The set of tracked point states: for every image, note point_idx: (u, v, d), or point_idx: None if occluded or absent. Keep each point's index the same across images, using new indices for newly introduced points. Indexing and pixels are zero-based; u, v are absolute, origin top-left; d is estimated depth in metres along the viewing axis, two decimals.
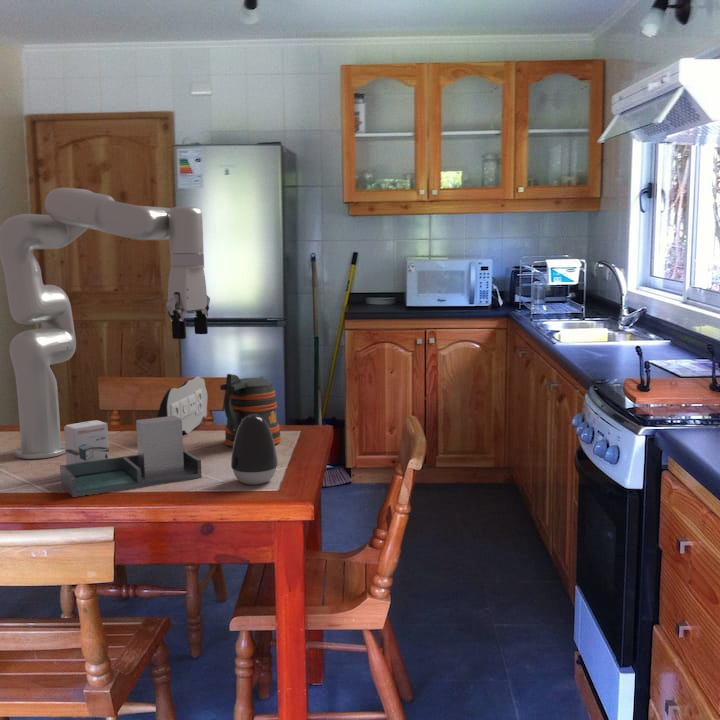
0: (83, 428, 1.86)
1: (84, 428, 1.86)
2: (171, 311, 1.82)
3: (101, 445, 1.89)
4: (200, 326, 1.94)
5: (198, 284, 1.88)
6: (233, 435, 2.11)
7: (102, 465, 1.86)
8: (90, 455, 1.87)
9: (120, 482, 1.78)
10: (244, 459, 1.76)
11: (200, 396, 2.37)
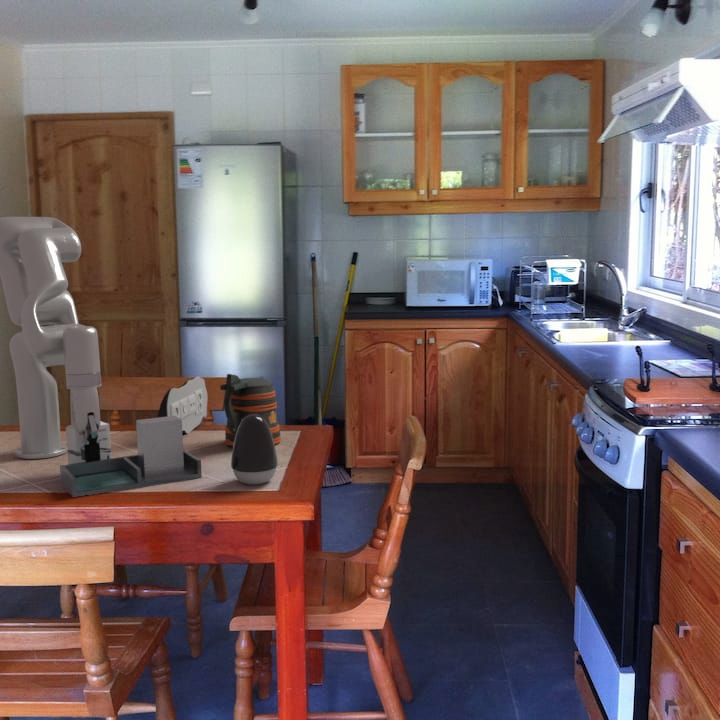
0: None
1: None
2: (94, 436, 1.82)
3: (102, 446, 1.88)
4: None
5: None
6: (233, 435, 2.11)
7: (102, 465, 1.86)
8: None
9: (120, 482, 1.78)
10: (244, 459, 1.76)
11: (200, 396, 2.37)
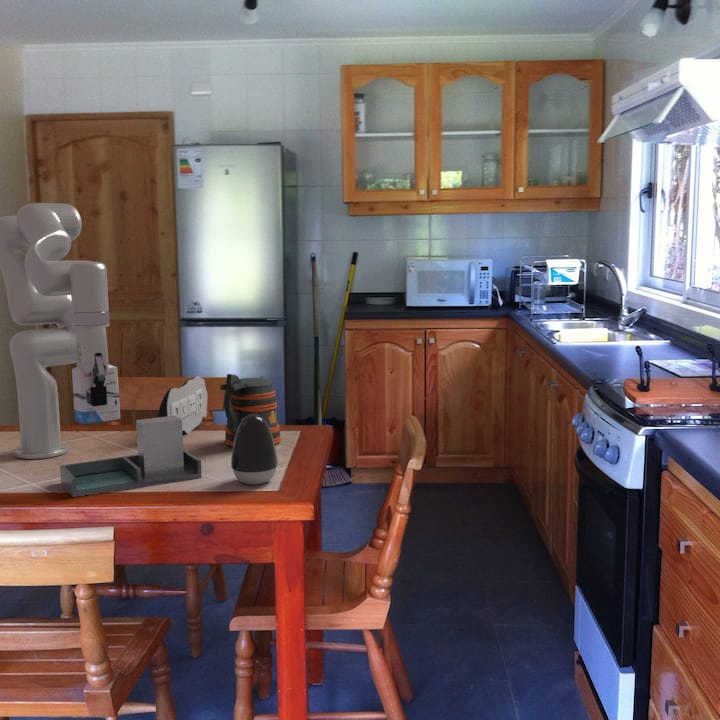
0: None
1: None
2: (101, 379, 1.72)
3: (110, 390, 1.77)
4: None
5: None
6: (233, 435, 2.11)
7: (102, 465, 1.86)
8: None
9: (120, 482, 1.78)
10: (244, 459, 1.76)
11: (200, 396, 2.37)
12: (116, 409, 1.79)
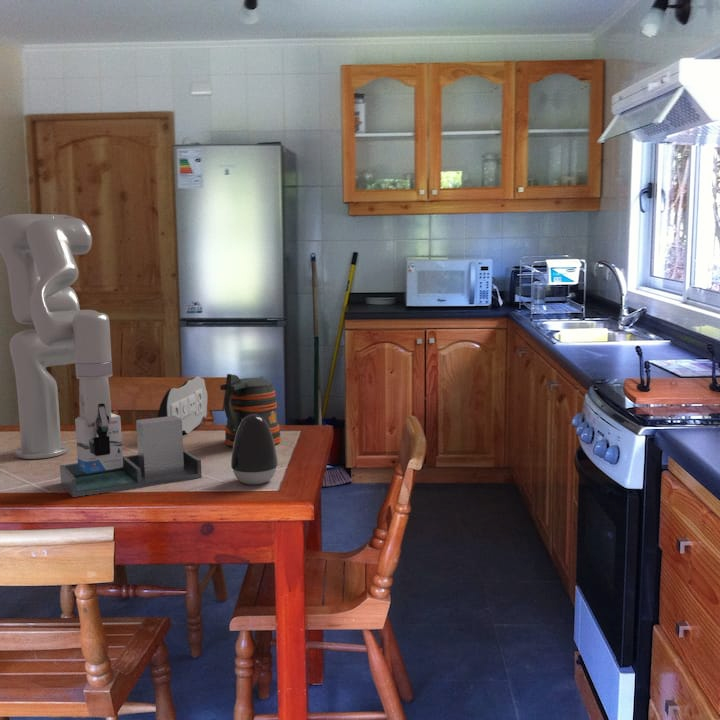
0: None
1: None
2: (105, 429, 1.74)
3: (113, 439, 1.79)
4: None
5: None
6: (233, 435, 2.11)
7: None
8: None
9: (120, 482, 1.78)
10: (244, 459, 1.76)
11: (200, 396, 2.37)
12: (119, 458, 1.80)
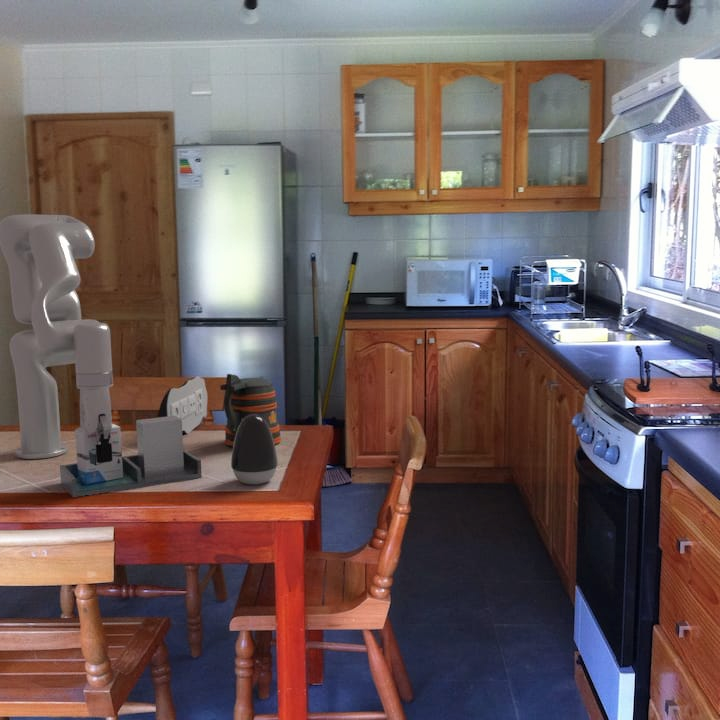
0: None
1: None
2: (107, 435, 1.72)
3: (113, 450, 1.80)
4: None
5: None
6: (233, 435, 2.11)
7: None
8: None
9: (120, 482, 1.78)
10: (244, 459, 1.76)
11: (200, 396, 2.37)
12: (119, 468, 1.81)
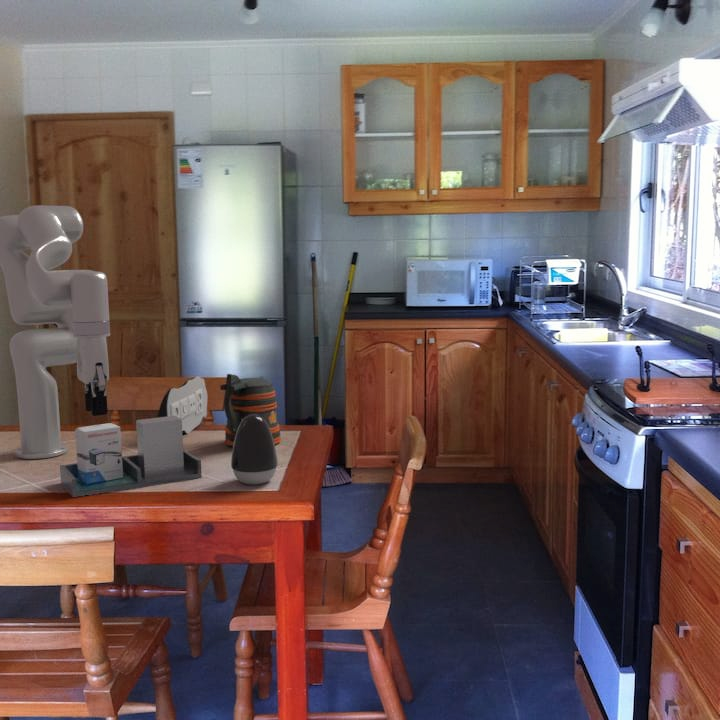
0: (94, 431, 1.77)
1: (94, 431, 1.77)
2: (102, 389, 1.73)
3: (113, 450, 1.80)
4: None
5: None
6: (233, 435, 2.11)
7: None
8: (101, 460, 1.78)
9: (120, 482, 1.78)
10: (244, 459, 1.76)
11: (200, 396, 2.37)
12: (119, 468, 1.81)
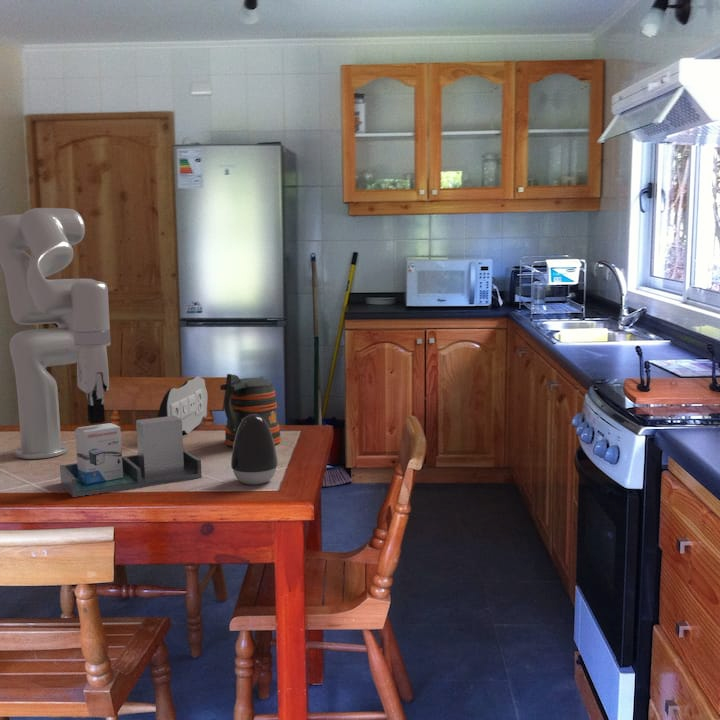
0: (94, 431, 1.77)
1: (94, 431, 1.77)
2: (99, 399, 1.75)
3: (113, 450, 1.80)
4: None
5: None
6: (233, 435, 2.11)
7: None
8: (101, 460, 1.78)
9: (120, 482, 1.78)
10: (244, 459, 1.76)
11: (200, 396, 2.37)
12: (119, 468, 1.81)
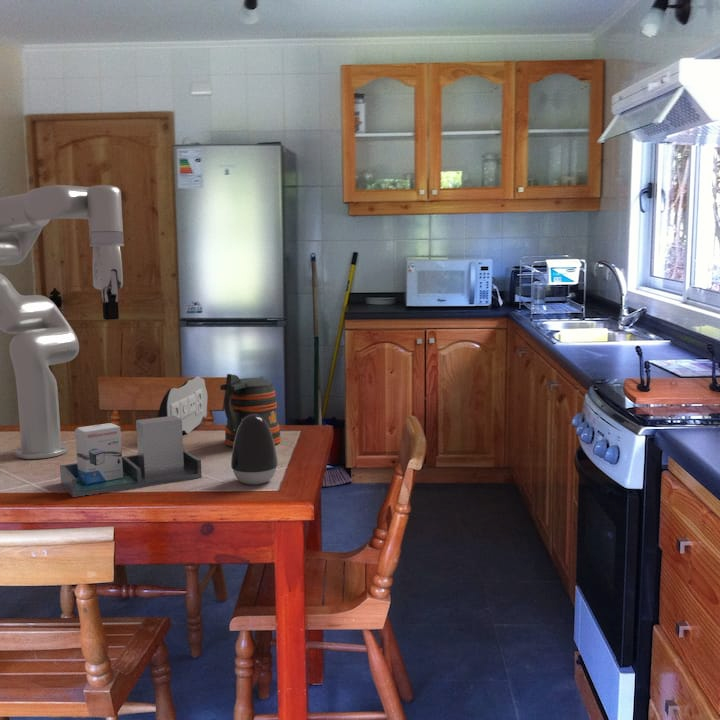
0: (94, 431, 1.77)
1: (94, 431, 1.77)
2: (114, 295, 1.89)
3: (113, 450, 1.80)
4: None
5: None
6: (233, 435, 2.11)
7: None
8: (101, 460, 1.78)
9: (120, 482, 1.78)
10: (244, 459, 1.76)
11: (200, 396, 2.37)
12: (119, 468, 1.81)
